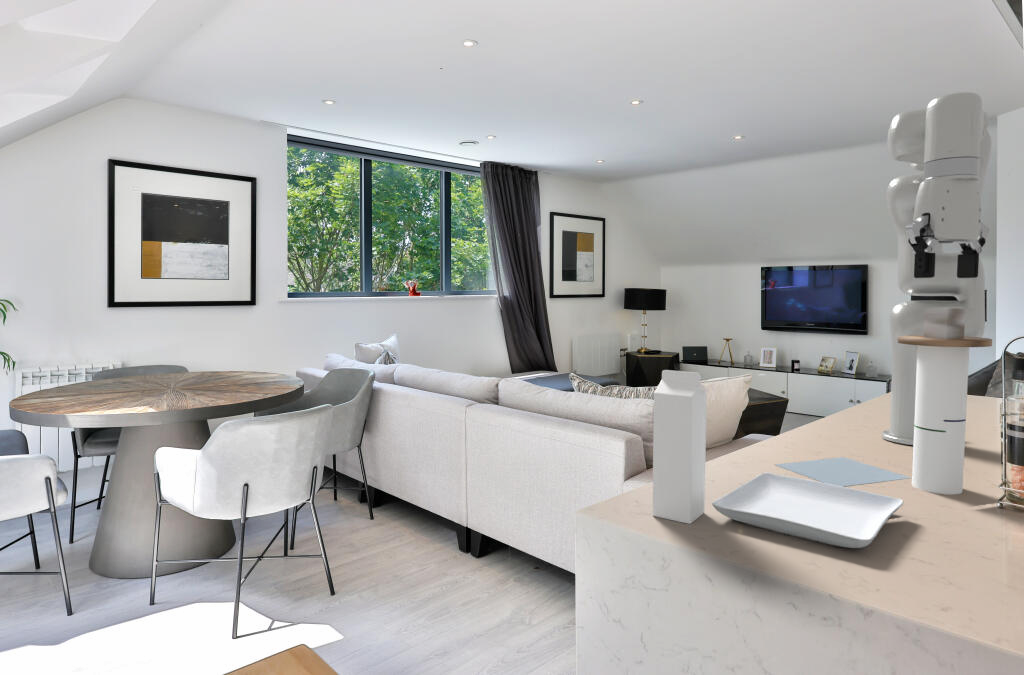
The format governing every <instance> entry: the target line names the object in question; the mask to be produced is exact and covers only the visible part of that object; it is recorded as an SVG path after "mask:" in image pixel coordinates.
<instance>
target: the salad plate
mask: <svg viewBox="0 0 1024 675" xmlns="http://www.w3.org/2000/svg"><path fill="white" fill-rule="evenodd" d="M711 505H712V506H713V508H714V509H715V510H716V512H719V513H720V514H721V515H723V516H724V517H727V518H729V519H731V520H734V521H737V522H739V523H740V522H741V523H744V524H746V525H749V526H753V527H757V528H761V529H765V530H768V531H773V532H778V533H781V534H784V533H785V535H788V534H789V536H793V537H798V538H801V539H805V540H810V541H814V542H817V541H818V543H823V544H827V545H830V546H834V545H835V547H841V548H847V549H862V548H865V547H867V546H869V545H870V544H871V543H872V542H873V541H874V539H875V538H876V537H877V535H879V532H880V530H881V529H882V528H883V527H884V525H885V523H886V522H887V521H888V519H890V517H891V516H893V515H894V514H895V513H896V512H898V510H899V509H900V508H901V507H902V506H903V505H904V500H903V499H901V498H898V497H894V496H889V495H884V494H879V493H875V492H871V491H870V492H869V491H865V490H861V489H855V488H851V487H848V486H846V487H842V486H837V485H832V484H827V483H822V482H820V481H817V480H813V479H806V478H800V477H793V476H787V475H782V474H778V473H777V474H776V473H771V472H768V471H767V472H766V471H765V472H762V473H760V474H758V475H756V476H755V477H753V478H751V479H750V480H748V481H746V482H745V483H743V484H741V485H740V486H738V487H736V488H735V489H733V490H731V491H730V492H727V493H726V494H725V495H722V496H721V497H719V498H717V499H716V500H714V501H713V502H712V504H711Z"/></svg>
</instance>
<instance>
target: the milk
mask: <svg viewBox="0 0 1024 675" xmlns="http://www.w3.org/2000/svg"><path fill="white" fill-rule="evenodd" d="M707 396H708V395H707V390H706V388H705V387H704V386H703V385H702V383H701V374H700V372H696V371H684V370H683V371H681V370H672V369H671V370H670V369H663V370H662V371H661V380H660V382H659V384H658V385H657V387H656V389H655V390H654V392H653V438H652V439H653V445H652V446H653V448H652V452H653V455H652V517H657V518H660V519H664V520H671V521H675V522H680V523H684V524H687V525H691V524H692V523H693V522H694V521H696V520H697V519H698V518H700V516H703V514H705V504H706V503H705V499H706V498H705V497H706V495H705V494H706V493H705V492H706V490H705V489H706V451H707V450H706V449H707V448H706V445H707V444H706V440H707V439H706V438H707V433H706V432H707Z"/></svg>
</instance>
